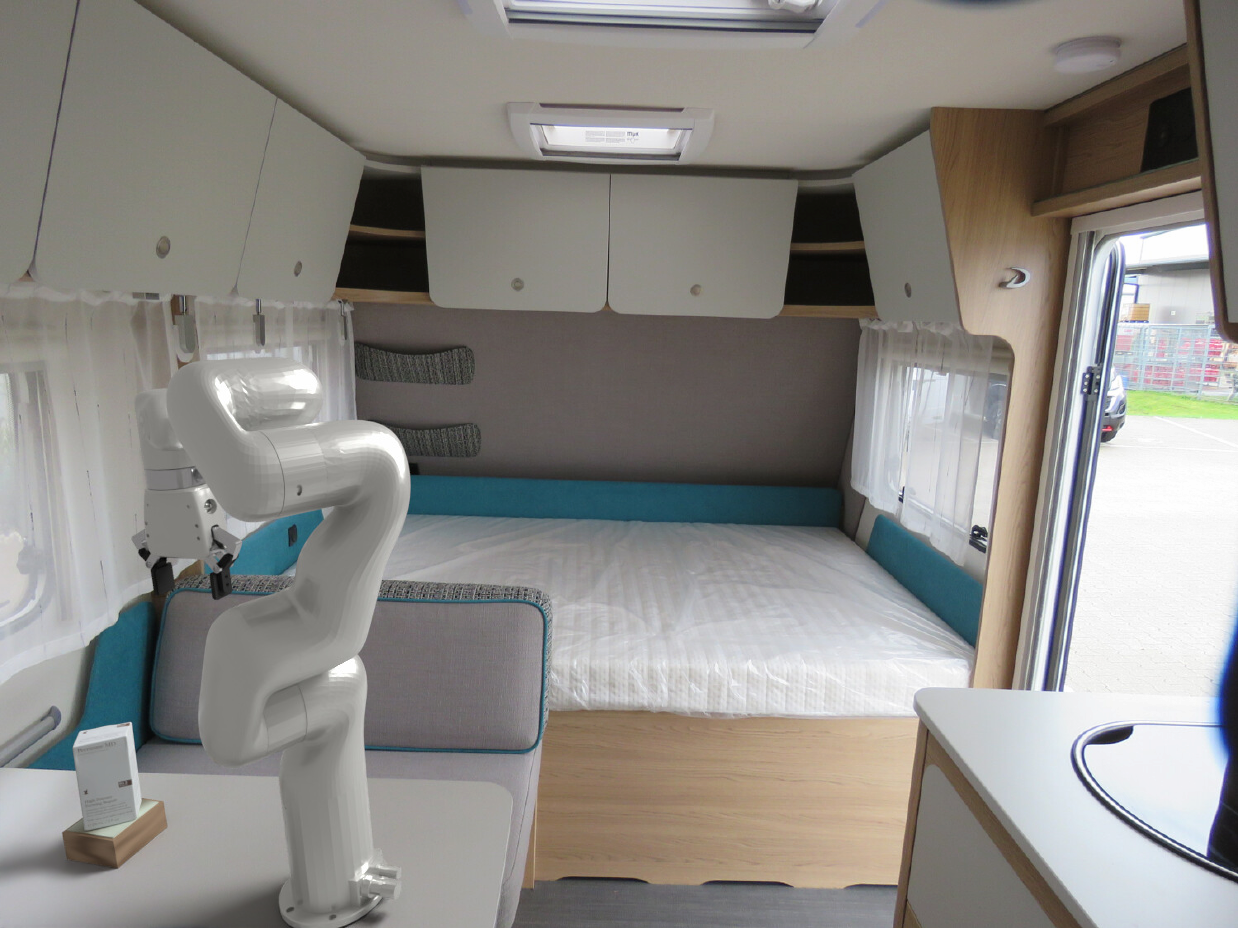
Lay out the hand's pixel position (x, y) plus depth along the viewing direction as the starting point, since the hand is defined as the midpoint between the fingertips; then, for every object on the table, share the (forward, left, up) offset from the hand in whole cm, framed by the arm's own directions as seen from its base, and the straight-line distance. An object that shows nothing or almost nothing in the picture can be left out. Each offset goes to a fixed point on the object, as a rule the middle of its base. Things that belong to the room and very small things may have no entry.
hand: (193, 594), depth 107 cm
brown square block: (+4, +14, -30) cm, 34 cm away
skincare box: (+4, +14, -26) cm, 30 cm away
